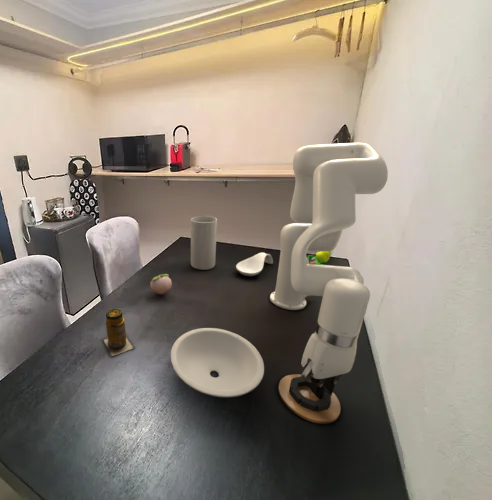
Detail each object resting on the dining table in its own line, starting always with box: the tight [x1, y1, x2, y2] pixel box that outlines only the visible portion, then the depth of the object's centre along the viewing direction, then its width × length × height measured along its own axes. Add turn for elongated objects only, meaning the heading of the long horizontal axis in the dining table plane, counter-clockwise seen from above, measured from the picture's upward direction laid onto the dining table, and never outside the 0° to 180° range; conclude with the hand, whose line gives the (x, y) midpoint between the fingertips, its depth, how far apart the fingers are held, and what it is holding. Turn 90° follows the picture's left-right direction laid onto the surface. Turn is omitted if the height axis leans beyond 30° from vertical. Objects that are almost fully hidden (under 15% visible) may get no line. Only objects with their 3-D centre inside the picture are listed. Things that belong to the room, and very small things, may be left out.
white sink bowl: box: [170, 327, 265, 398], centre depth 72 cm, size 24×24×7 cm
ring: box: [289, 376, 331, 412], centre depth 64 cm, size 8×8×2 cm
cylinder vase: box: [190, 215, 218, 271], centre depth 134 cm, size 12×12×25 cm
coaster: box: [277, 373, 342, 425], centre depth 65 cm, size 13×13×1 cm
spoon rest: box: [235, 252, 274, 277], centre depth 128 cm, size 24×12×7 cm, turn 127°
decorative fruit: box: [150, 273, 173, 295], centre depth 112 cm, size 9×8×10 cm
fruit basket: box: [307, 251, 332, 265], centre depth 123 cm, size 11×9×11 cm
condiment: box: [103, 308, 134, 357], centre depth 84 cm, size 7×8×12 cm
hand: (320, 392), depth 65 cm, fingers closed, pressing on coaster, ring
